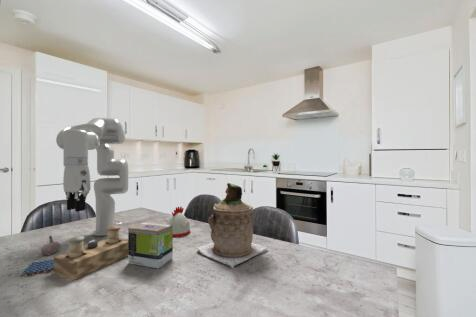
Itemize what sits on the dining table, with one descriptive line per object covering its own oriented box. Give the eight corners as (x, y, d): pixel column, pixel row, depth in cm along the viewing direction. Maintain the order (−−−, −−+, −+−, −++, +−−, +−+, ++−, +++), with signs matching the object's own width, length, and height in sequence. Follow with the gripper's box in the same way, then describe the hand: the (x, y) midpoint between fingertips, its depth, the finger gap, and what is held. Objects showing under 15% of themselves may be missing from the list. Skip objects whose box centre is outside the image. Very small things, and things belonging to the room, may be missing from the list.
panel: (114, 249, 104) (114, 236, 104) (131, 254, 98) (131, 240, 98) (53, 273, 82) (53, 257, 82) (71, 280, 77) (71, 263, 77)
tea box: (173, 258, 94) (173, 223, 94) (157, 269, 84) (157, 231, 85) (145, 253, 99) (145, 220, 99) (127, 263, 89) (127, 227, 89)
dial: (91, 245, 93) (91, 238, 93) (99, 245, 93) (99, 239, 93) (85, 248, 90) (85, 242, 90) (93, 249, 89) (93, 242, 89)
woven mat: (31, 266, 88) (31, 261, 88) (64, 261, 93) (64, 256, 93) (18, 279, 79) (18, 273, 79) (54, 273, 83) (54, 268, 83)
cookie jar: (269, 250, 102) (269, 181, 102) (232, 270, 84) (231, 186, 84) (231, 237, 119) (231, 178, 119) (193, 252, 101) (193, 182, 101)
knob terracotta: (115, 242, 100) (115, 225, 100) (122, 244, 98) (122, 226, 98) (104, 246, 96) (104, 228, 96) (111, 248, 94) (111, 230, 94)
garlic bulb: (48, 257, 96) (48, 238, 96) (35, 255, 97) (35, 237, 97) (65, 250, 103) (65, 233, 103) (52, 248, 105) (52, 232, 105)
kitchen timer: (195, 231, 129) (194, 206, 129) (176, 239, 117) (176, 210, 117) (178, 227, 136) (178, 203, 136) (159, 234, 125) (159, 207, 125)
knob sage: (79, 255, 87) (79, 235, 87) (86, 257, 85) (86, 237, 85) (65, 260, 82) (65, 239, 82) (72, 263, 80) (72, 241, 80)
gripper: (99, 162, 83) (99, 210, 83) (74, 162, 91) (74, 206, 91) (78, 162, 77) (78, 214, 76) (52, 162, 84) (52, 210, 84)
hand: (76, 209), depth 84 cm, fingers open, 4 cm apart
